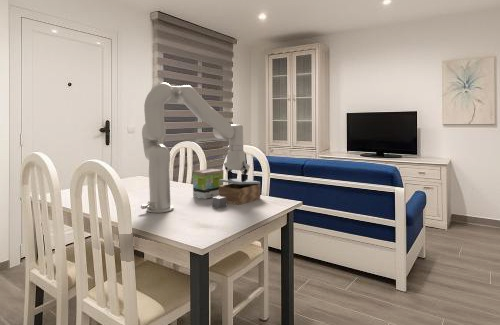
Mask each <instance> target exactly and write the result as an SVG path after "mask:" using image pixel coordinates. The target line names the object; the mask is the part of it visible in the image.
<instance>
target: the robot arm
mask: <svg viewBox="0 0 500 325" xmlns="http://www.w3.org/2000/svg"><path fill="white" fill-rule="evenodd" d="M167 103H168V104H184V106H186V107H187V109H188V110H189V111H190V112H191V113H193V115H194V116H195V117H196V118H198V119H199V120H200V121H202V122H204V123H206V124H208V125H209V126H210V127H212V134H213V136H214V137H215V138H216V139H220V140H226V141H228V146H227V148H228V150H227V155H226V161H225V162H223V166H224V169H225V171H226V173H227V174H226V175H227V179H228V180H230V179H233V171H240V172H241V175H240V179H241V181H242V182H244V181H246V180H247V174H248V173H249V170H250V167H251V166H250V165H249V164H248V163H247V162H246V161H247V160H246V154H245V150H244V125H242V124H231V123H230V122H229V121H228V120H227V118H225V116H223V115H222V114H221V113H219V112H218V111H217V110H216V109H214V107H212V106H210V104H209V103H208V102H207V101H206V100H205V99H204V98H203V97H202V96H201V95H200V93H198V91H196V89H195V88H194V87H193V86H191V85H189V84H188V85H187V84H186V85H185V84H184V85H181V86H180V85H179V86H178V85H177V86H175V85H170V84H169V83H168V82H159V83H158V84H155V85H154V86H153V87H151V89H150V91H149V92H148V94H147V95H146V98H145V100H144V103H143V104H144V105H143V106H144V122H145V123H144V124H143V126H142V129H141V137H142V144H143V152H144V156H145V158H146V159H147V160H148V182H149V185H148V186H149V188H148V189H149V200H148V201H147V203H146V204H141V206H140V209H141V210H145V209H146V211H147V212H148V213H154V214H155V213H156V214H158V213H159V214H161V213H167V212H172V211H174V209H175V206H174V205H172V204H171V182H170V181H171V178H170V165H171V164H170V162H171V153H170V150H169V148H168V147H167V146H166V145H164V142H163V141H164V140H163V139H164V138H165V137H166V132H167V131H166V124H165V115H164V114H165V113H164V107H165V104H167Z"/></svg>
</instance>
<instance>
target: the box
mask: <svg viewBox="0 0 500 325" xmlns="http://www.w3.org/2000/svg"><path fill="white" fill-rule="evenodd" d="M219 196H224V197H226V203H228V204H231V205H232V204H234V205H244V204H246V203H249V202H252V201H256V200H255V199H257V200H259V199H258V198H260V199H261V183H260V184H234V183H226V184H223V185H221V186H219Z"/></svg>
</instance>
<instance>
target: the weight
mask: <svg viewBox="0 0 500 325" xmlns="http://www.w3.org/2000/svg"><path fill="white" fill-rule="evenodd" d="M211 207H212V208H214V209H223V208H226V207H227V202H226V197H224V196H214V197H211Z"/></svg>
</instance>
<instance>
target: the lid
mask: <svg viewBox="0 0 500 325" xmlns="http://www.w3.org/2000/svg"><path fill="white" fill-rule="evenodd" d="M219 181H221V182H223V183H227V184H230V183H234V184H260V185H261V181H259V180H258V181H257V180H251V179H246V181H244V182H242V181H241V178H232V179H230V180H228V178H223V179H219Z"/></svg>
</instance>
